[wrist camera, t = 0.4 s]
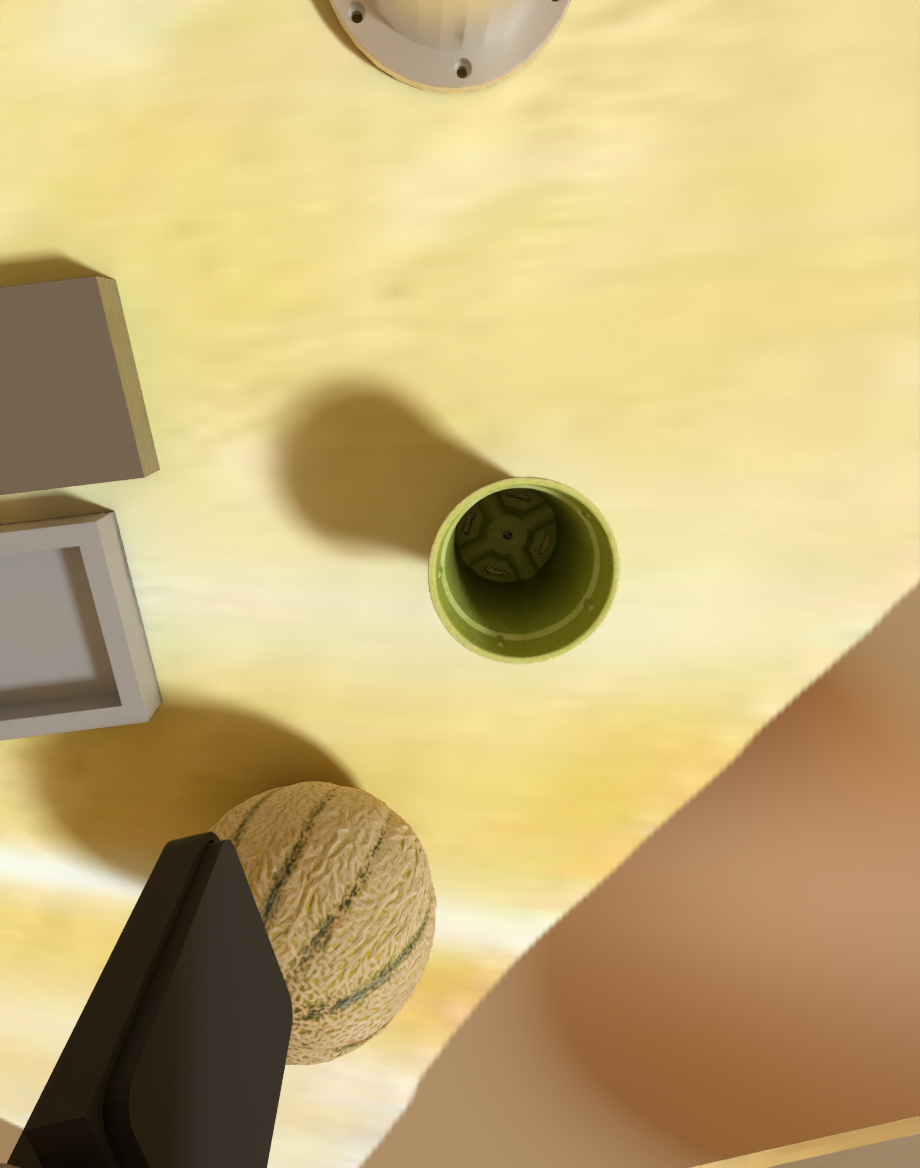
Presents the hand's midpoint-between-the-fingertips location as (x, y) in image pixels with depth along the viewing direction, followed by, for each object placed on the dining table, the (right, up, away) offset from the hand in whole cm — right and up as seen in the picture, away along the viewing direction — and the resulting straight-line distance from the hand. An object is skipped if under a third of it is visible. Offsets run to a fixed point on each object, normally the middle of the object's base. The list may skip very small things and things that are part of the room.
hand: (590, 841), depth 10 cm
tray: (-27, +1, +35) cm, 44 cm away
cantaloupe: (-11, -13, +41) cm, 45 cm away
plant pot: (+1, +7, +36) cm, 36 cm away
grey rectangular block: (-23, +14, +32) cm, 42 cm away
